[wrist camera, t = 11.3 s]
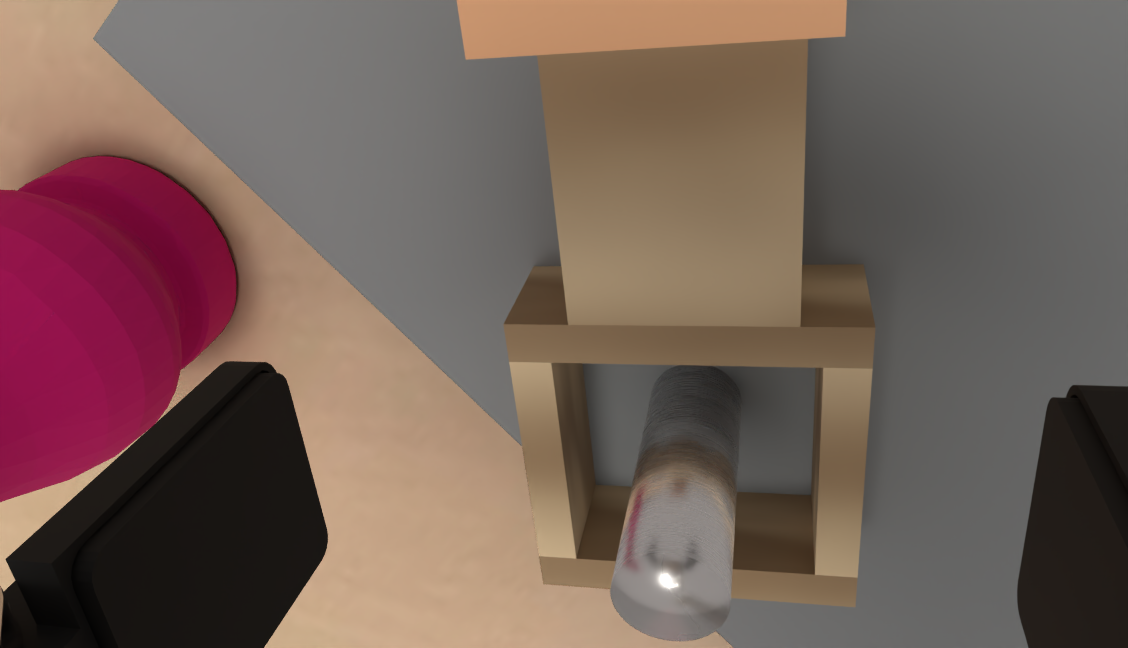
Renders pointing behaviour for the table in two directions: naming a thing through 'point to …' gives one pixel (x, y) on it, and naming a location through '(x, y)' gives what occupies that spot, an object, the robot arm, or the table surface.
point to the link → (689, 298)
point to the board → (830, 237)
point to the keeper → (637, 24)
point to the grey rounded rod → (682, 508)
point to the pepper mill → (99, 312)
